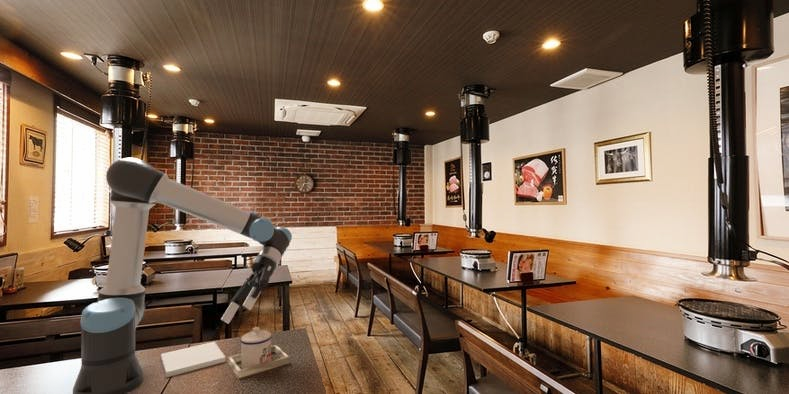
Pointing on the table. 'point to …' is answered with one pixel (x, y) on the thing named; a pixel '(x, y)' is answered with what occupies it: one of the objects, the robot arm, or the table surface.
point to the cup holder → (261, 367)
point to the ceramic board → (191, 358)
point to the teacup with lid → (255, 348)
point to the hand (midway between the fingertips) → (235, 314)
